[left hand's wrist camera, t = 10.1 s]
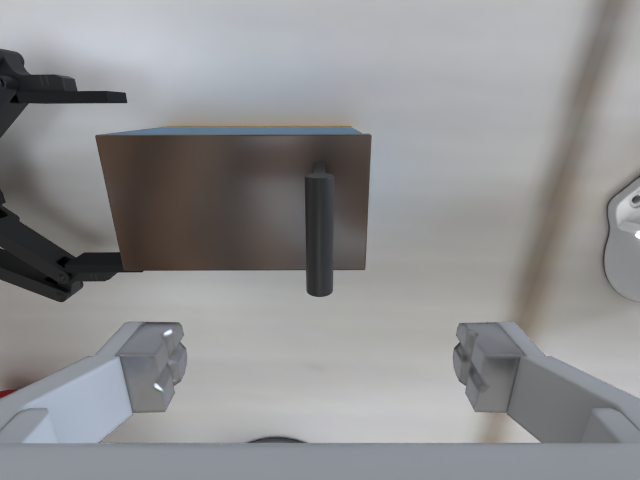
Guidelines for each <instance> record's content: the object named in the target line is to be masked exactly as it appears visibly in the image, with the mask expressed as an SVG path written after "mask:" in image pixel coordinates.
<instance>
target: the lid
mask: <svg viewBox="0 0 640 480" xmlns="http://www.w3.org/2000/svg"><path fill="white" fill-rule="evenodd" d="M95 137H96V142H97V146H98V151H99V156H100V160H101V165H102V170H103V174H104V179H105V184H106V189H107V193H108V198H109V203H110V207H111V212H112V217H113V221H114V226H115V231H116V235H117V240H118V245H119V249H120V254H121V259H122V263H123V268H124V270H125V271H164V270H306V285H307V293H308V294H310V295H312V296H316V297H324V296H328V295H330V294H331V293H332V291H333V270H365V263H366V242H367V220H368V199H369V178H370V156H371V135H370V134H102V135H96V136H95Z"/></svg>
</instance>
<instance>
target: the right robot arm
mask: <svg viewBox="0 0 640 480" xmlns="http://www.w3.org/2000/svg"><path fill="white" fill-rule="evenodd" d="M29 103H43V104H53V103H127V99H126V93H122V92H110V91H77V87H76V83H75V79H73V78H70V77H68V76H61V75H31V74H29V73H28V72H27V71H26V70H25V68H24V59H23V57H22V56H21V55H20V54H19V53H18V52H15V51H9V50H4V49H0V138H1V136H2V135H3V134H4V133H5V132H6V130H7V129H8V128H9V127H10V125H11V124H12V123H13V122H14V121H15V119H16V118H17V117H18V116H19V114H20V113H21V112H22V111H23V110H24V108H25V107H26V106H27V105H28V104H29ZM2 203H6V202H5V199H4V196H3V193H2V192H1V190H0V247H2V248H3V249H1V248H0V279H1V280H3V281H6V282H8V283H11V284H14V285H16V286H19V287H22V288H24V289H27V290H29V291H32V292H35V293H37V294H40V295H42V296H45V297H48V298H50V299H53V300H56V301H58V302H64V301H65V300H67V299H68V298H69V297H71V296H72V295H73V294H75V293H76V292H77V291H79V290H80V289H81V288H82V287H83V282H82V281H106V280H109V279H110V278H112V277H113V276H114V275H115V274H116V273H118V272H143V271H125V270H124V268H123V263H122V259H121V254H120V252H106V253H83V254H81V255H80V256H78V257H74V256H72V255H71V254H69V253H68V252H66V251H65V250H63V249H62V248H60V247H58V246H57V245H55V244H54V243H52V242H51V241H49V240H48V239H46V238H44V237H43V236H41V235H40V234H38V233H37V232H35V231H33V230H32V229H30V228H29V227H27V226H26V225H24V224H23V223H21V222H20V221H19V219H20V218H19V217H18V216H17V215H15V214H14V213H12V212H11V211H9V210H8V209H6V208H5V207H3V206H2ZM4 249H5V250H4ZM252 443H302V442H299V441H295V440H291V439H284V438H269V439H262V440H258V441H255V442H252Z"/></svg>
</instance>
